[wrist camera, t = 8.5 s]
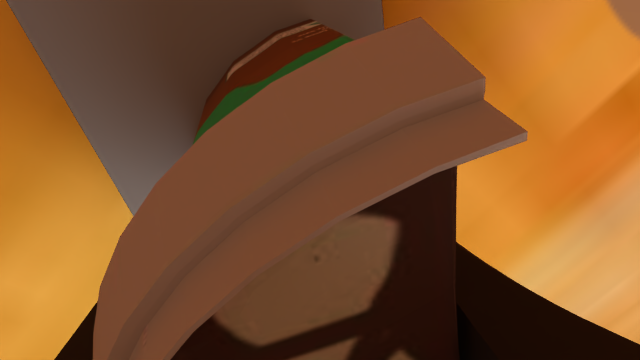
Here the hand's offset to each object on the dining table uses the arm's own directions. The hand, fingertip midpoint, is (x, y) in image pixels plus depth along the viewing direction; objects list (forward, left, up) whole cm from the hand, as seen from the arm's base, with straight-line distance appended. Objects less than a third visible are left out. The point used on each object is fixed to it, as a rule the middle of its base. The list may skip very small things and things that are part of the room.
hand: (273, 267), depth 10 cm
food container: (0, 0, -5) cm, 5 cm away
